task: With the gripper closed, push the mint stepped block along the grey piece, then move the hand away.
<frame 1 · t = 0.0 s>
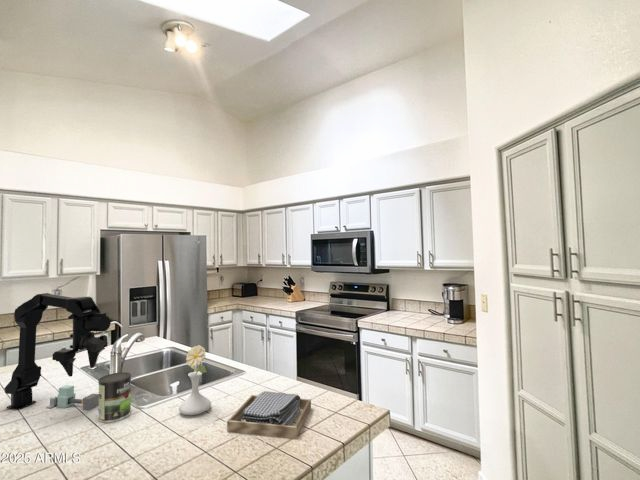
hand: (81, 371, 128), 15 cm above the counter, tool pointing down, fingers open, 9 cm apart
towel: (272, 421, 119), resting in linen tray frame
flower in vase: (196, 412, 126), on the counter
mint stepped block: (66, 396, 133), point 4 cm above the counter, slide at 0.0 cm
linen tray frame: (271, 419, 119), on the counter
coffee can: (114, 416, 124), on the counter
grey piece: (73, 406, 132), on the counter
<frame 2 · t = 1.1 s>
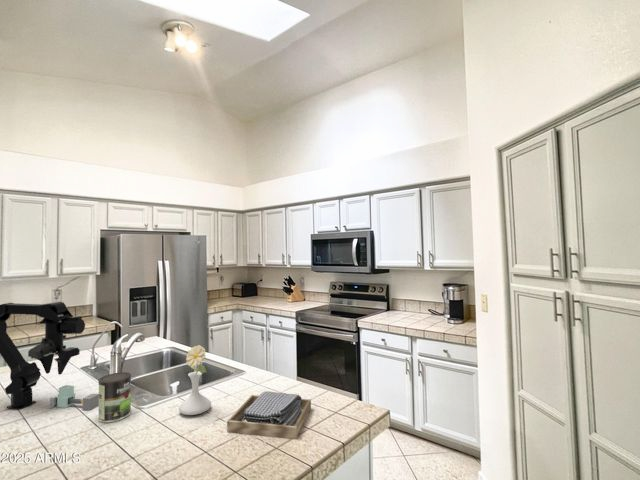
hand: (54, 373, 135), 12 cm above the counter, tool pointing down, fingers open, 6 cm apart
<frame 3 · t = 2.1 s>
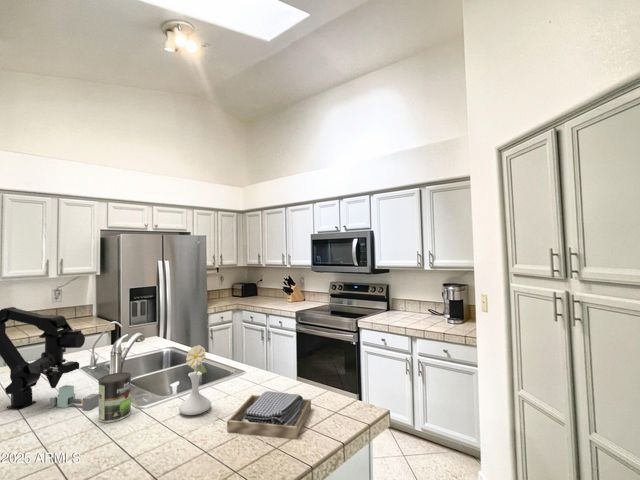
hand: (53, 387, 134), 6 cm above the counter, tool pointing down, fingers closed
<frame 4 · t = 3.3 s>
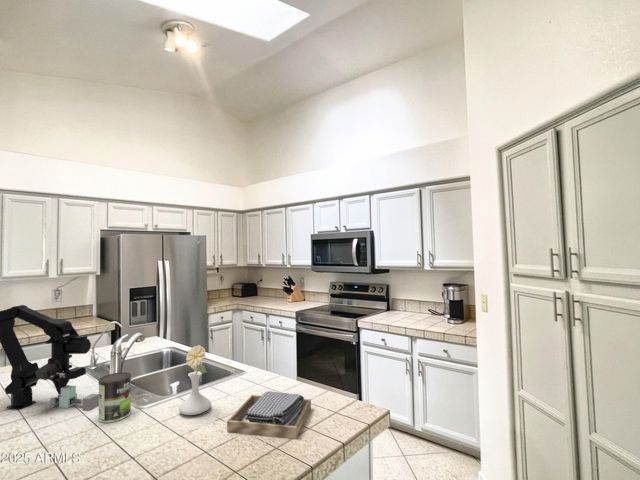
hand: (60, 393, 134), 4 cm above the counter, tool pointing down, fingers closed
mint stepped block: (68, 396, 133), point 4 cm above the counter, slide at 0.9 cm, touching gripper
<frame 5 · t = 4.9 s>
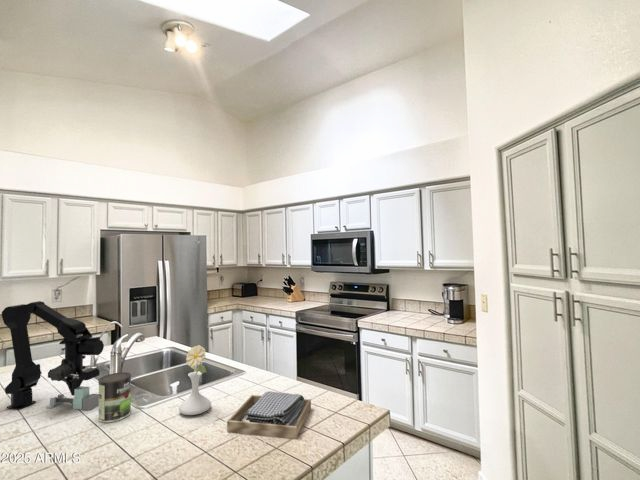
hand: (73, 395, 132), 4 cm above the counter, tool pointing down, fingers closed
mint stepped block: (81, 397, 132), point 4 cm above the counter, slide at 7.3 cm, touching gripper
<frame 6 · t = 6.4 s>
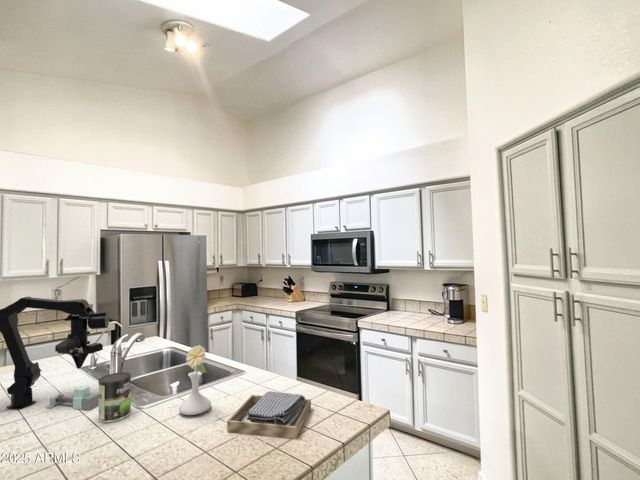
hand: (79, 368, 140), 12 cm above the counter, tool pointing down, fingers closed
mint stepped block: (81, 397, 132), point 4 cm above the counter, slide at 7.3 cm
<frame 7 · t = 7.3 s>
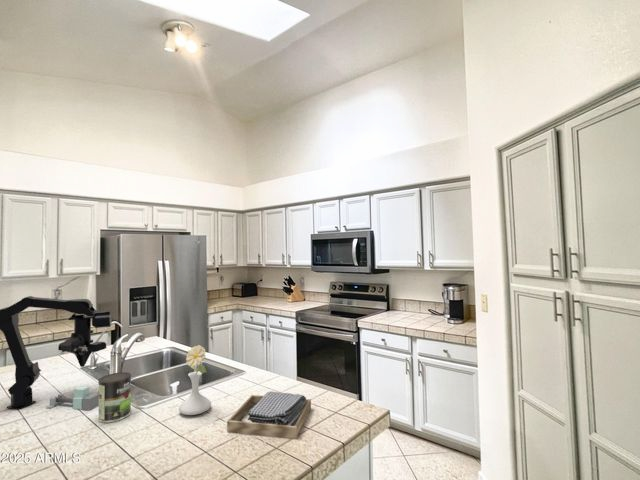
hand: (82, 366, 143), 12 cm above the counter, tool pointing down, fingers closed
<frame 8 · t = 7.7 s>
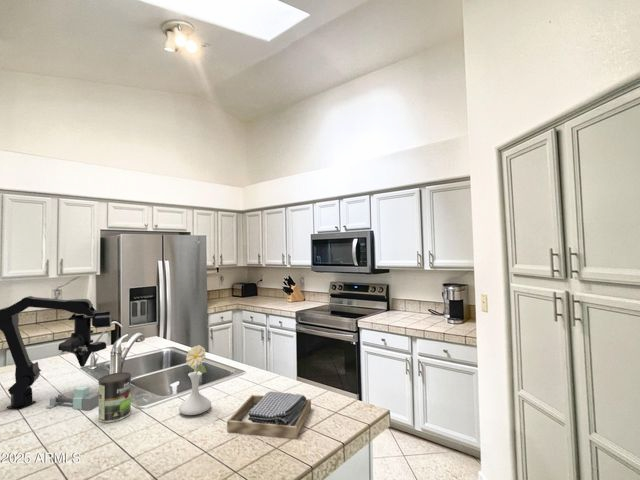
hand: (82, 366, 143), 12 cm above the counter, tool pointing down, fingers closed
towel: (278, 422, 118), resting in linen tray frame
everything else where it was.
at the end: mint stepped block slide at 7.3 cm; mint stepped block touching nothing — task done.
